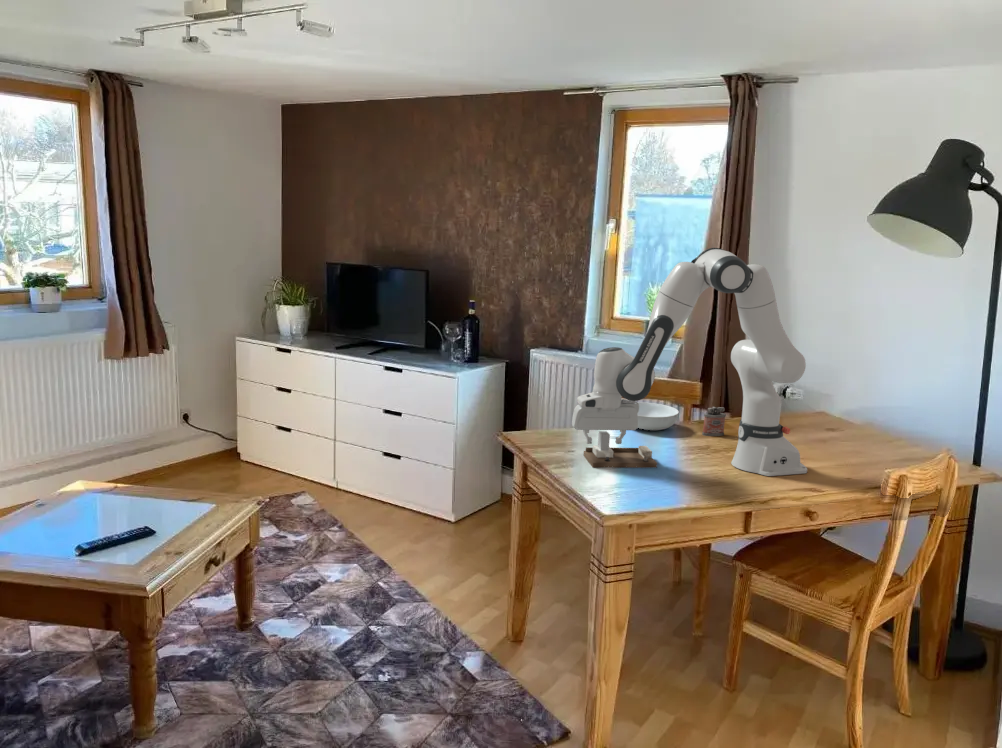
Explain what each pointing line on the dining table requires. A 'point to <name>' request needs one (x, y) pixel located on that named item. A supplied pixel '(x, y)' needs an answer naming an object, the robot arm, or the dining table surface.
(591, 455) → the brown board with blocks
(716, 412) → the lighter
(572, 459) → the dining table surface
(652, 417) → the serving bowl
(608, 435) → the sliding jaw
